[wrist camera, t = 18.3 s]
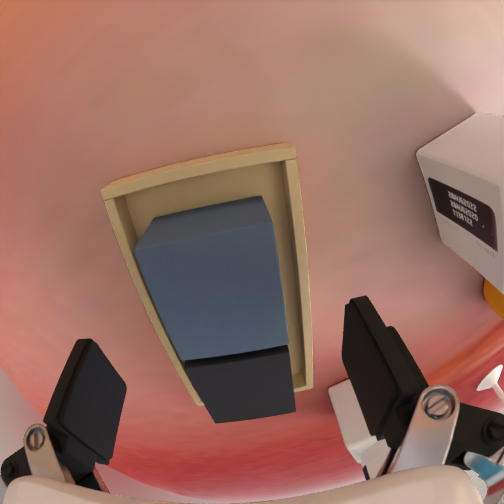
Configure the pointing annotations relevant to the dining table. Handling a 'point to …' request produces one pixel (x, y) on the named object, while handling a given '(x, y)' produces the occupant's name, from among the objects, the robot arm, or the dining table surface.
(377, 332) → the robot arm
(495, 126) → the container
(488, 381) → the champagne flute
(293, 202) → the wooden tray
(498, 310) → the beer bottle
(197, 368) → the pad
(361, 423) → the medicine bottle
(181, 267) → the blue block
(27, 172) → the dining table surface
